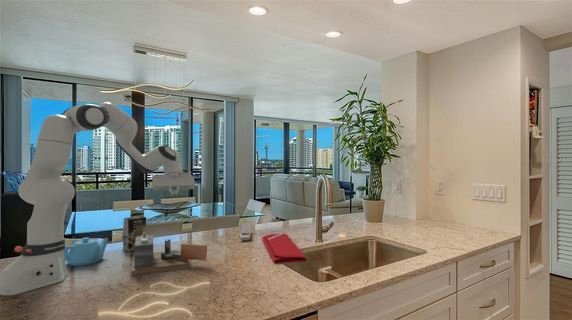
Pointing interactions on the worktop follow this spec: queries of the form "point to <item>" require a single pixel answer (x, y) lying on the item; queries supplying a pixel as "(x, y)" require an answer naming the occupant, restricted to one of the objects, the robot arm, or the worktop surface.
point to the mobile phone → (245, 231)
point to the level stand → (153, 258)
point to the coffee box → (133, 231)
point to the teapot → (85, 252)
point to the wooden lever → (185, 251)
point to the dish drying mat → (282, 249)
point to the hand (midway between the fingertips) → (174, 194)
